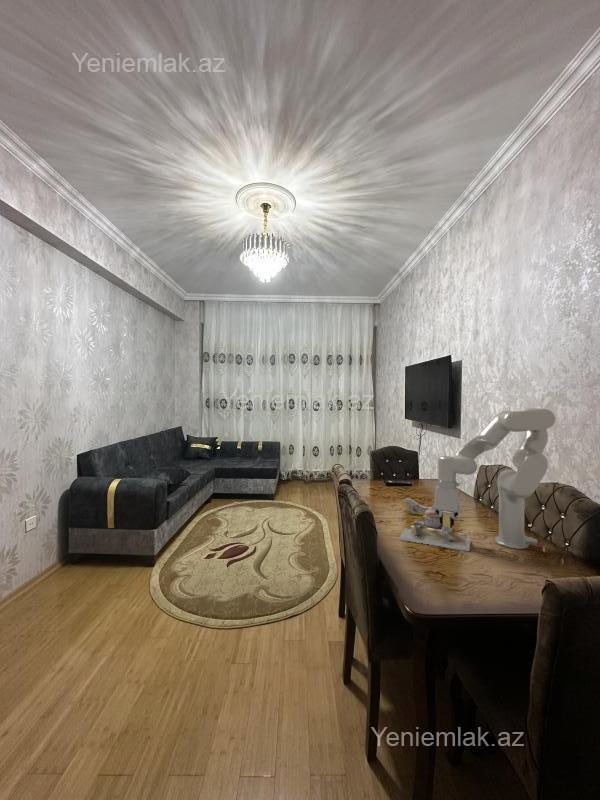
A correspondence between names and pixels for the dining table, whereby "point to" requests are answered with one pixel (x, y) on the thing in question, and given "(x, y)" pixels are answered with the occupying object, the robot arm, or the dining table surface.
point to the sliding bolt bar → (435, 531)
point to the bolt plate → (435, 540)
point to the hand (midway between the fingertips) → (446, 525)
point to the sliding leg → (446, 525)
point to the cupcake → (432, 519)
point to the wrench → (420, 508)
